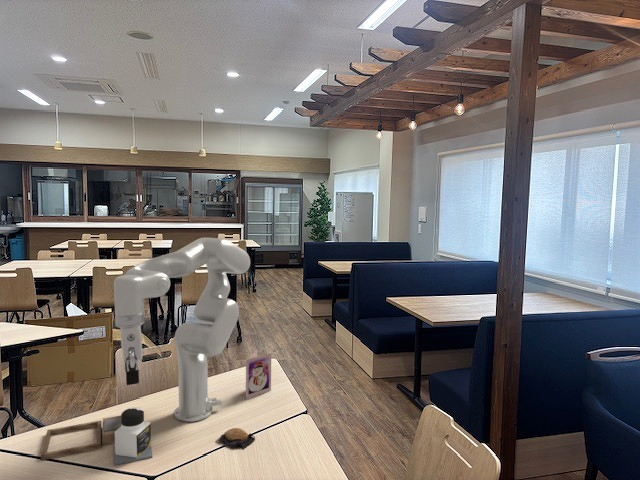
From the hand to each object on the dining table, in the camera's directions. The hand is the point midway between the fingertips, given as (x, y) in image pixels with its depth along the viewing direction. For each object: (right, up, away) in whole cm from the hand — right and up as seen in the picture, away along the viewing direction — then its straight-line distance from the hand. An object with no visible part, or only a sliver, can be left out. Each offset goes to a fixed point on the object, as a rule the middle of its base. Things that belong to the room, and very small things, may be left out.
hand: (132, 377), depth 129 cm
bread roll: (+28, -23, +9) cm, 37 cm away
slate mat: (-1, -22, +2) cm, 22 cm away
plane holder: (-16, -21, +9) cm, 28 cm away
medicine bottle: (0, -22, +2) cm, 22 cm away
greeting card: (+29, -19, +43) cm, 55 cm away
